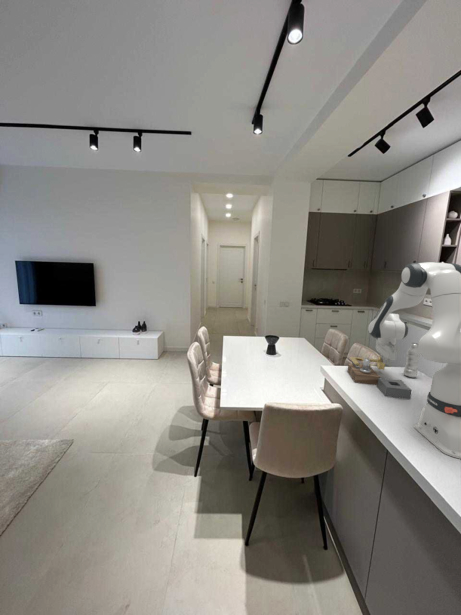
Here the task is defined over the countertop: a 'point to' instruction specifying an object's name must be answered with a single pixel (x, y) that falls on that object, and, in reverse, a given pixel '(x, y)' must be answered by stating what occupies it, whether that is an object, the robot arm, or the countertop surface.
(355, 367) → the socket block
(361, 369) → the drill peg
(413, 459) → the countertop surface
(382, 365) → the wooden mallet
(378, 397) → the countertop surface
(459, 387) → the robot arm
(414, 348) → the plastic bottle
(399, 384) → the grey square holed piece
